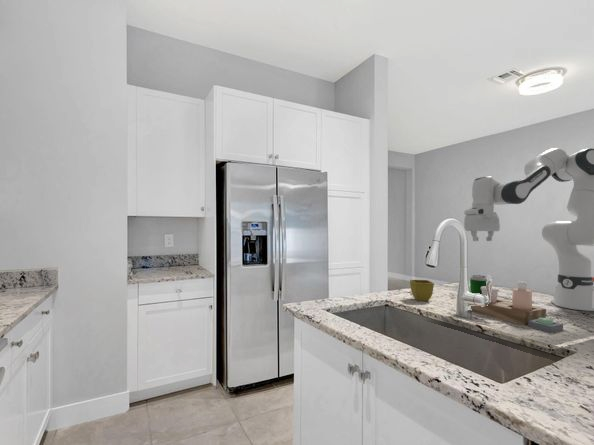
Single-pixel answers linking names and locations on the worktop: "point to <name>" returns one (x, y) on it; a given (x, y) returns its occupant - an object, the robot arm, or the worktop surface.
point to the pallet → (510, 312)
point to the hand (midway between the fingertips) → (482, 241)
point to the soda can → (477, 283)
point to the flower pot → (421, 289)
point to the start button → (545, 321)
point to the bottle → (522, 297)
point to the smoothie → (494, 293)
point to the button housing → (546, 326)
